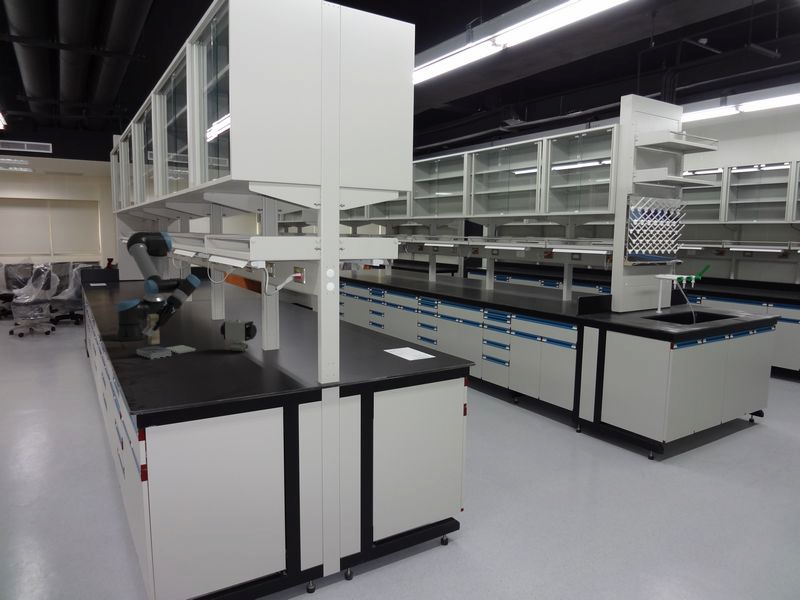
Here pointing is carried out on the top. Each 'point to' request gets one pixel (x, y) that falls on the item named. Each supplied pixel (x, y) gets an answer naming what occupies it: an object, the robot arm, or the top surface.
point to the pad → (181, 349)
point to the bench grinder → (238, 333)
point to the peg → (155, 337)
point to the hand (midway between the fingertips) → (146, 334)
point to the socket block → (154, 352)
